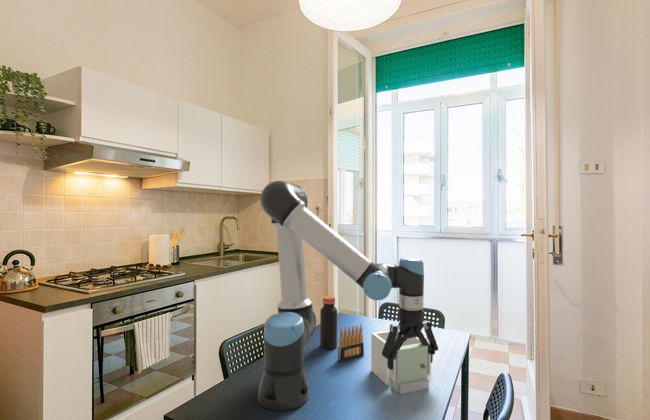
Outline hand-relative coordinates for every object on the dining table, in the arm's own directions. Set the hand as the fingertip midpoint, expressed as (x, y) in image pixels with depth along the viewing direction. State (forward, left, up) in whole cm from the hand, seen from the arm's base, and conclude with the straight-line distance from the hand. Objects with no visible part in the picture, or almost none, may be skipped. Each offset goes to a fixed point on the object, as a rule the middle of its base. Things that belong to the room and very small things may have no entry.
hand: (410, 376), depth 109 cm
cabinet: (0, +6, -4) cm, 7 cm away
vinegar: (-13, +38, -4) cm, 41 cm away
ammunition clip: (-9, +25, -4) cm, 27 cm away
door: (0, 0, -4) cm, 4 cm away
